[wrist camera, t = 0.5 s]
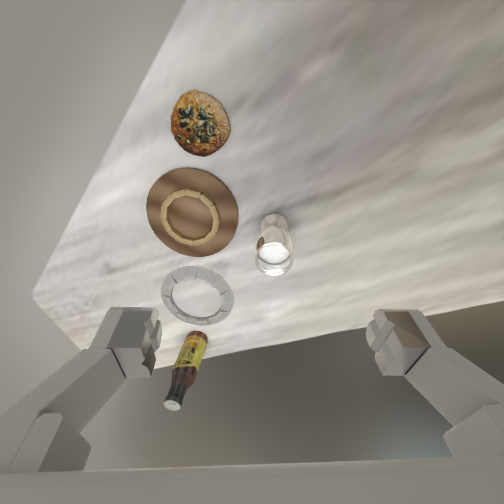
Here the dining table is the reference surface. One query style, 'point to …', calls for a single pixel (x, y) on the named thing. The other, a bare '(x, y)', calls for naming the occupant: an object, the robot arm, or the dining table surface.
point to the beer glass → (274, 246)
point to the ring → (210, 278)
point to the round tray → (192, 212)
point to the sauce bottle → (185, 369)
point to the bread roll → (199, 123)
